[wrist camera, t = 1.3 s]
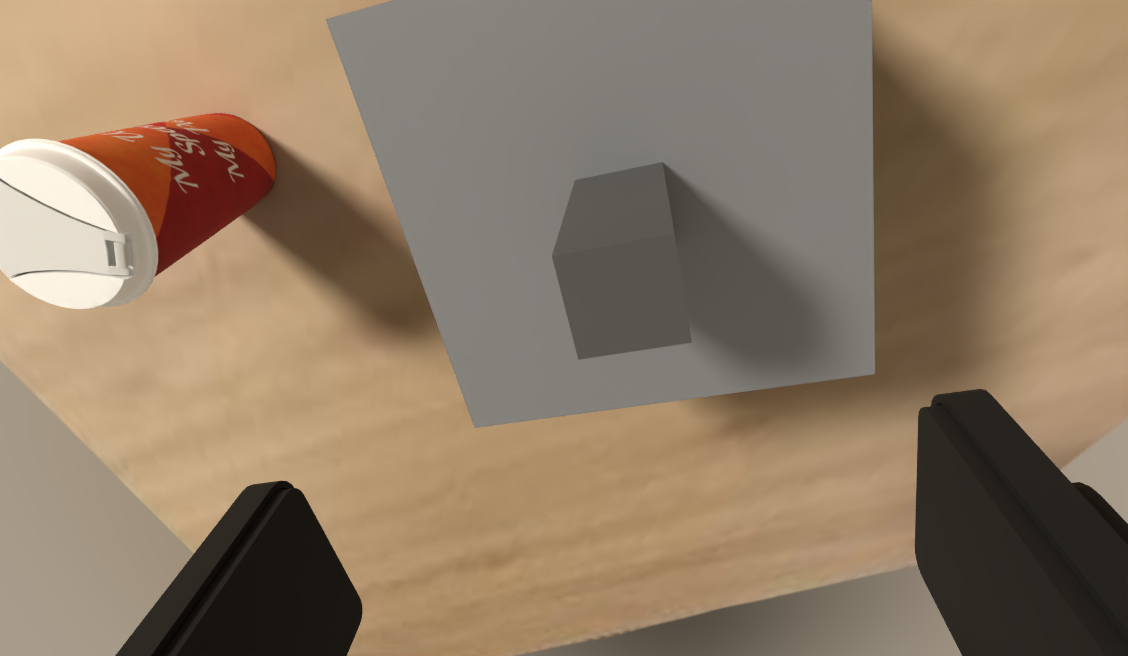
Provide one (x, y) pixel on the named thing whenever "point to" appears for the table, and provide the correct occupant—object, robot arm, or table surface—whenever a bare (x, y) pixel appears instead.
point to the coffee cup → (123, 204)
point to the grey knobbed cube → (628, 191)
